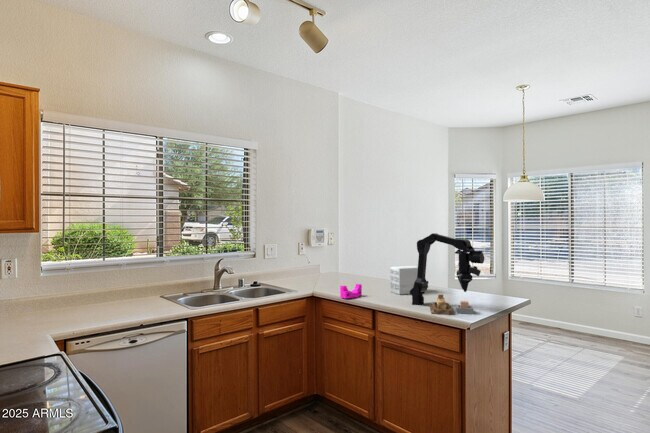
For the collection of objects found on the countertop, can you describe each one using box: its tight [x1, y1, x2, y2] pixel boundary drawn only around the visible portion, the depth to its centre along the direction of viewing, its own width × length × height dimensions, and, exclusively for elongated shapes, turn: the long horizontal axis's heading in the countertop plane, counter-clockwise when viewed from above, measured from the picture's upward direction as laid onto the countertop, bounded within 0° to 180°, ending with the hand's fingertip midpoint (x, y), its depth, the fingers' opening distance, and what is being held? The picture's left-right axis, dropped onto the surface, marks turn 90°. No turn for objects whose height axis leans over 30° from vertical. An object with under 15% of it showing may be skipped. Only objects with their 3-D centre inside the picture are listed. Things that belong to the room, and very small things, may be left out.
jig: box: [429, 301, 455, 316], centre depth 220 cm, size 12×20×2 cm, turn 167°
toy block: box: [339, 283, 363, 299], centre depth 261 cm, size 15×6×8 cm, turn 122°
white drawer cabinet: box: [389, 264, 418, 296], centre depth 275 cm, size 17×13×18 cm
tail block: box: [459, 300, 470, 308], centre depth 216 cm, size 4×4×5 cm
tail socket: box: [454, 304, 474, 315], centre depth 216 cm, size 8×8×3 cm
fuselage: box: [436, 293, 447, 310], centre depth 220 cm, size 4×12×7 cm, turn 167°
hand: (464, 290), depth 216 cm, fingers open, 9 cm apart
